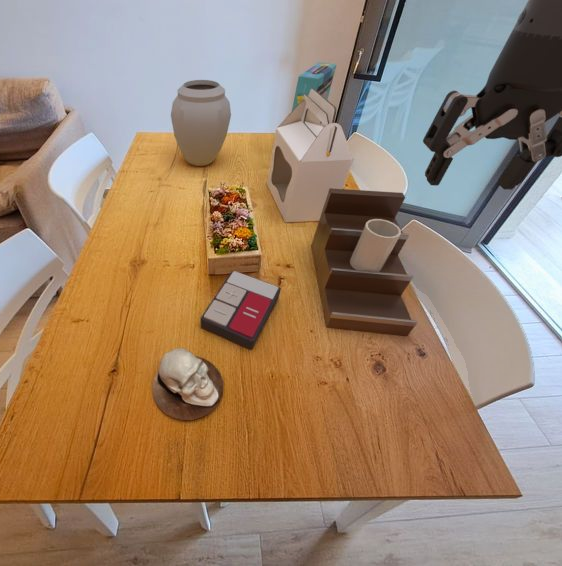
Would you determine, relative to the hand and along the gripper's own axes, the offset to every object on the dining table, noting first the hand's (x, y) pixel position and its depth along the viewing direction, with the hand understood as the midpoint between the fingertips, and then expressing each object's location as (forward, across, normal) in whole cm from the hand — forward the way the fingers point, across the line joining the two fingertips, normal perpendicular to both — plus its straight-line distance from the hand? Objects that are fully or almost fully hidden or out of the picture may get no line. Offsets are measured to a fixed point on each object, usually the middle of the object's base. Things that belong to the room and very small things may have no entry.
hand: (467, 184), depth 43 cm
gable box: (+30, -12, +47) cm, 57 cm away
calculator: (+31, -26, +1) cm, 40 cm away
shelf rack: (+31, -2, +13) cm, 33 cm away
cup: (+24, -2, +12) cm, 27 cm away
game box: (+30, -8, +79) cm, 85 cm away
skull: (+31, -34, -17) cm, 49 cm away
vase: (+30, -44, +70) cm, 87 cm away
